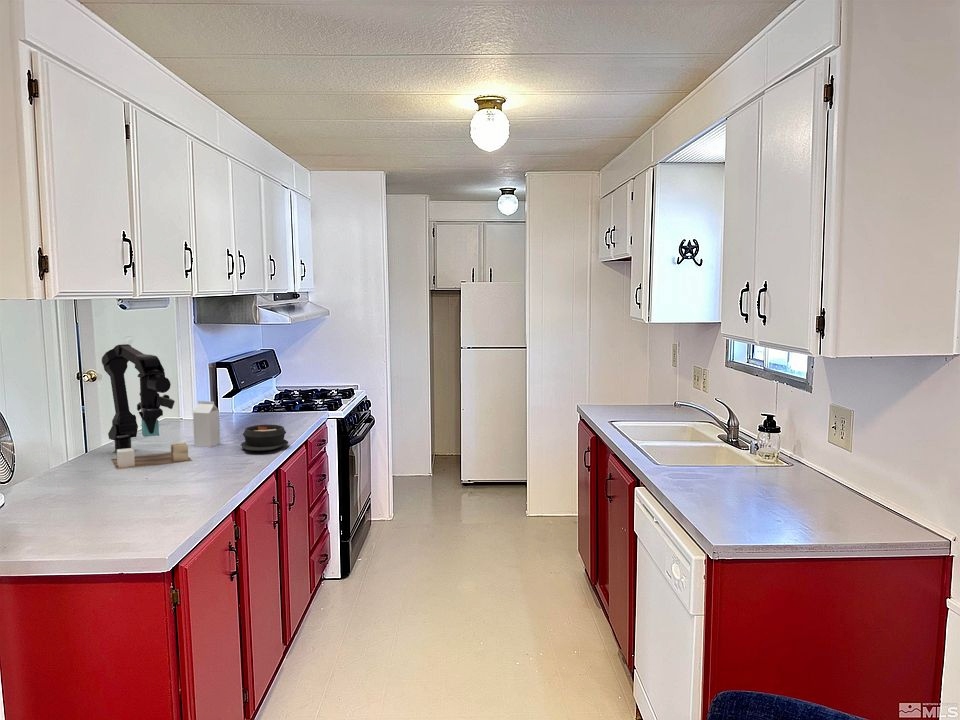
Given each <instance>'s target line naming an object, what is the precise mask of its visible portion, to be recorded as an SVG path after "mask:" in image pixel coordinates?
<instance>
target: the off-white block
mask: <svg viewBox="0 0 960 720" xmlns="http://www.w3.org/2000/svg"><path fill="white" fill-rule="evenodd" d="M134 456H135V450H134V448H133V447H131V448H127V449H117V452H116V458H117V465H118V467H119V468H120V467H129V466H135V460H134Z"/></svg>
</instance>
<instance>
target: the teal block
mask: <svg viewBox="0 0 960 720" xmlns="http://www.w3.org/2000/svg"><path fill="white" fill-rule="evenodd" d="M159 421H160V420H158V419H157V420H156V423H155V428H154V432H153V434H150V433H149V430H148V428H147V426H146V424H145V421H144V420H142V419H141V434H142V436H143V438H147V437H156V436H160V428H159V427H160V426H159V425H160V423H159Z"/></svg>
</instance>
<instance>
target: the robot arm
mask: <svg viewBox="0 0 960 720" xmlns="http://www.w3.org/2000/svg"><path fill="white" fill-rule="evenodd" d="M129 362H130V363H132V364H133V365H134V369H136V371H137V372H138V374H137V378H139V385H140V387H139V389H140V390H139V396H140V402H138V403H137V404H136V410H137V411H138V414H139V416H140V418H141V421H142V420H144V421H145V424H146V426H147V428H148V430H149V433H150V434H153V432H154V428H155V423H156V420H158V419H159V418H160V417H162V416H163V415H164V411H163V409H162V408H161V407H164V408H168V409H170V410H173V408H174V406H175V402H176V401H175V400H174V399H172V398H171V397H170V395H168V394H165V393H166V392H168V391H169V390H170V388H171V381H170V379H169V378H168V377H166V373H165V369H164V367H163V365H162V363H161V360H160V359H159V357H158V356H157V355H154V354H145V353H143V352H142V351H139V350H138V349H137V348H134V347H132V345H131V344H128V343H123V344H117V345H114V347H113V348H111V349H110V350H108V351H106V352H105V353H104V354H103V355H102V357H101V364H102V366H103V370H104V372H106V373H107V375H108V376H109V377H110V384H111V390H112V397H113V398H112V399H113V404H114V410H115V411H114V412H115V414H114V416H113V418H112V421H111V427H110V429H109V432H108V433H107V435H108V439H109V440H111V441H114V451H113V453H117V449H127V448H132V439H133V438H136V437H137V434H138V430H139V429H138V428H139V426H138V425H139V424H138V423H137V416H136V415H135V414H133V413H132V412H131V411H130V406H129V398H128V392H127V385H126V378H125V374H126V371H127V370H128V363H129ZM160 393H162V394H163V395H161V396H160Z"/></svg>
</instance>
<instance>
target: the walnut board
mask: <svg viewBox="0 0 960 720" xmlns="http://www.w3.org/2000/svg"><path fill="white" fill-rule="evenodd" d="M110 460H111V462H112V464H113V466H114V467H115V469H116V470H125V469H134V468H135V469H136V468H142V467H144V468H145V467H151V466H152V467H153V466H160V465H169V464H176V463H177V464H178V463H179V464H180V463H184V462H185V463H186V462H187V463H188V462H193V459H192V458H191V457H189V456H188V460H182V461H173V460H172V459H171V452H162V453H155V454H154V453H153V454H145V455H134V460H135V466H129V467H120V468H119V467H118V465H117V457H116V458H110Z"/></svg>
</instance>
